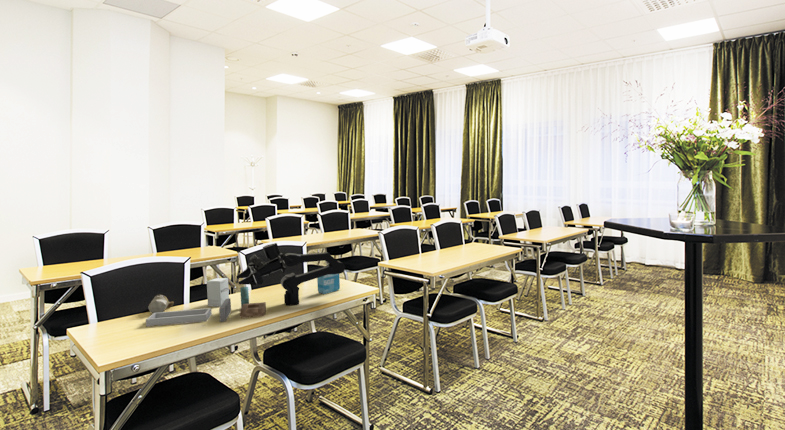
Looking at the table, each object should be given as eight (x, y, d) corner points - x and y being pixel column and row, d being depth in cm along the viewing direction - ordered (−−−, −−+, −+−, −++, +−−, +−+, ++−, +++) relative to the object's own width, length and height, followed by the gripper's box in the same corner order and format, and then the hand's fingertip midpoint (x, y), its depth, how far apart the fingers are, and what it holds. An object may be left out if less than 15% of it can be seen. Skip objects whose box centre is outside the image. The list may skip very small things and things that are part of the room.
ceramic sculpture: (142, 297, 191) (150, 292, 205) (143, 316, 191) (151, 309, 206) (168, 295, 194) (174, 290, 209) (168, 314, 194) (175, 307, 209)
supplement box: (221, 306, 204) (219, 281, 203) (207, 306, 206) (205, 281, 205) (229, 302, 211) (228, 277, 210) (216, 302, 213) (215, 277, 212)
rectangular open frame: (211, 314, 192) (211, 308, 192) (206, 321, 182) (206, 314, 182) (154, 319, 187) (153, 312, 187) (146, 326, 177) (145, 319, 177)
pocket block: (266, 310, 197) (265, 302, 197) (264, 316, 187) (263, 308, 187) (243, 312, 195) (243, 304, 195) (240, 319, 185) (240, 310, 185)
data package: (323, 294, 222) (322, 272, 221) (317, 293, 225) (316, 271, 224) (340, 290, 231) (339, 268, 230) (334, 288, 234) (333, 267, 233)
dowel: (249, 306, 203) (248, 286, 202) (248, 308, 199) (247, 288, 199) (241, 307, 202) (240, 287, 201) (240, 309, 199) (239, 288, 198)
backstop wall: (231, 310, 196) (230, 298, 196) (225, 321, 181) (224, 307, 180) (226, 311, 196) (225, 298, 196) (220, 322, 180) (219, 308, 180)
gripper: (261, 247, 207) (229, 259, 201) (267, 257, 190) (233, 270, 185) (268, 267, 210) (237, 280, 205) (275, 278, 194) (242, 292, 188)
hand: (237, 280), depth 195 cm, fingers open, 9 cm apart
